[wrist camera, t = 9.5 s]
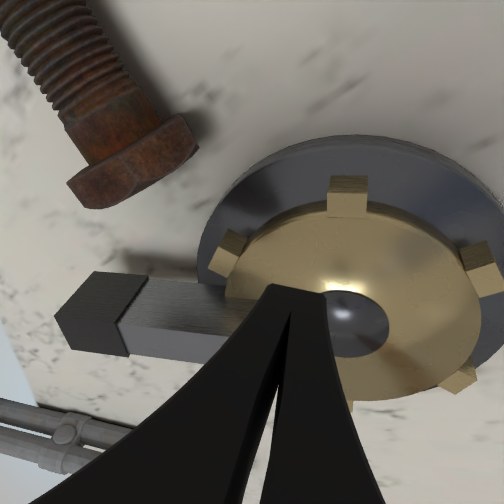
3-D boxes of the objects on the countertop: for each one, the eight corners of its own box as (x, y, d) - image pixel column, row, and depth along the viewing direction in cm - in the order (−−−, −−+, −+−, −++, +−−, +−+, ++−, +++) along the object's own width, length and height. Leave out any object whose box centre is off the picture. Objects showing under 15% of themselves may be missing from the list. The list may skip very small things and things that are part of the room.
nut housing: (592, 166, 15) (612, 186, 14) (447, 400, 24) (451, 425, 23) (205, 110, 17) (191, 122, 16) (207, 342, 26) (198, 362, 25)
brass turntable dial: (526, 177, 14) (569, 240, 11) (456, 403, 21) (469, 479, 18) (63, 173, 19) (1, 216, 16) (137, 358, 26) (104, 412, 23)
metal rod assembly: (250, 448, 33) (233, 514, 29) (250, 465, 35) (234, 529, 31) (-12, 385, 38) (-56, 434, 34) (-1, 402, 40) (-42, 450, 36)
